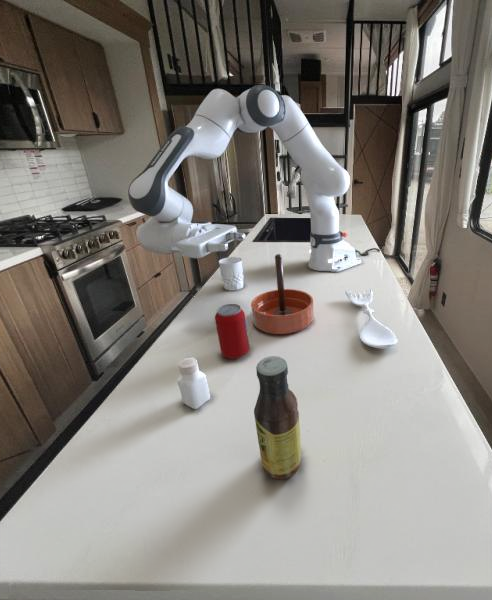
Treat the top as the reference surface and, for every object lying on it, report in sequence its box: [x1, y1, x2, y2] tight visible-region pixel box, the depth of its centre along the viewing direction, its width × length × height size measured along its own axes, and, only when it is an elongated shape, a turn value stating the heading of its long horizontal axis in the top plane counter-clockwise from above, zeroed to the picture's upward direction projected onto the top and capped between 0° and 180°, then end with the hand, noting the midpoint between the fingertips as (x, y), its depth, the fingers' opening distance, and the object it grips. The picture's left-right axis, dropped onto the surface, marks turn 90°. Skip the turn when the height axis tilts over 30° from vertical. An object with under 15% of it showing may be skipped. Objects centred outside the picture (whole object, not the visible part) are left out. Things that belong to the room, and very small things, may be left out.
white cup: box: [218, 256, 245, 291], centre depth 114 cm, size 8×8×10 cm
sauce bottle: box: [253, 355, 302, 480], centre depth 47 cm, size 6×6×20 cm
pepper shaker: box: [177, 356, 211, 410], centre depth 62 cm, size 4×4×10 cm
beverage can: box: [214, 303, 250, 359], centre depth 76 cm, size 7×7×12 cm
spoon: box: [345, 288, 398, 349], centre depth 91 cm, size 9×32×4 cm, turn 5°
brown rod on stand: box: [274, 253, 292, 315], centre depth 89 cm, size 5×5×19 cm
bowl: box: [250, 288, 315, 335], centre depth 92 cm, size 17×17×6 cm
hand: (236, 241), depth 87 cm, fingers open, 8 cm apart
